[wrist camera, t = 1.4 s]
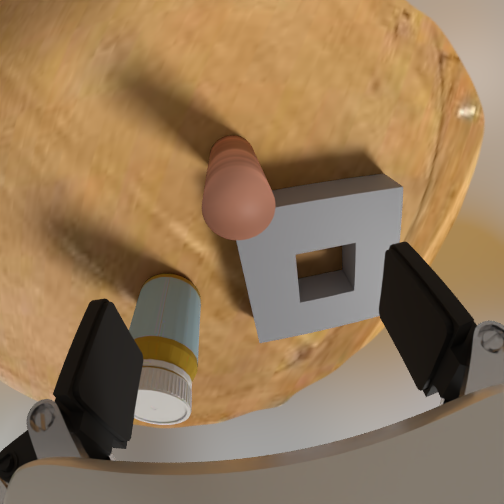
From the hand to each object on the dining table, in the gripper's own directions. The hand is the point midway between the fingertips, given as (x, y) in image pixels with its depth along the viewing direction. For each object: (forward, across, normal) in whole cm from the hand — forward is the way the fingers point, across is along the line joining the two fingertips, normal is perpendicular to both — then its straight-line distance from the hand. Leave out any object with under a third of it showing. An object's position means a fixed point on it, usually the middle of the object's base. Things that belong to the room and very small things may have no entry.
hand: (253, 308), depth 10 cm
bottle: (+20, +10, +14) cm, 26 cm away
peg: (+20, 0, 0) cm, 20 cm away
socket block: (+20, -7, +12) cm, 24 cm away
